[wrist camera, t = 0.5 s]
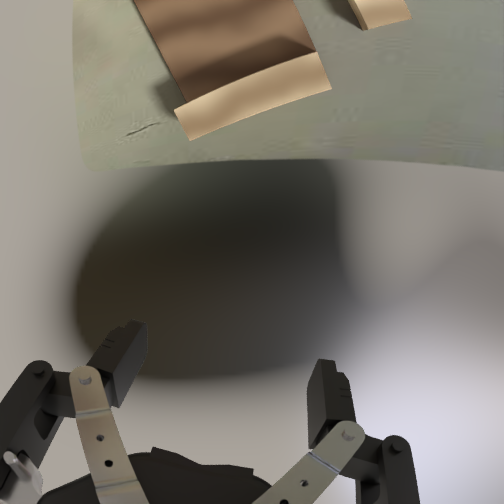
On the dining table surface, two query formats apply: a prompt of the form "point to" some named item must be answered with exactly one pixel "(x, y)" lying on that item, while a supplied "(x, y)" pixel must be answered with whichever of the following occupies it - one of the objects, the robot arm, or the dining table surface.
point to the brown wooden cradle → (233, 57)
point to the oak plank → (379, 12)
